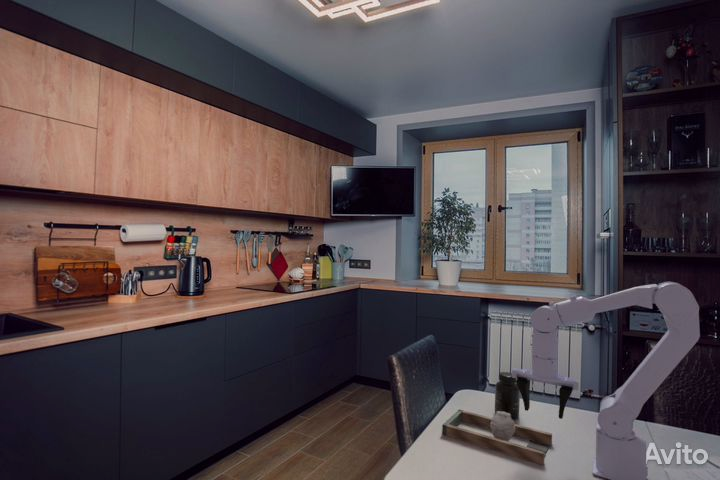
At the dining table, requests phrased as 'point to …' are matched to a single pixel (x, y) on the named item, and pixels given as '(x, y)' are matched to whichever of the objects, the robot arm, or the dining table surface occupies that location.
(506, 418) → the white head sculpture
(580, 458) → the dining table surface
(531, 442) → the box
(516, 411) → the supplement bottle
